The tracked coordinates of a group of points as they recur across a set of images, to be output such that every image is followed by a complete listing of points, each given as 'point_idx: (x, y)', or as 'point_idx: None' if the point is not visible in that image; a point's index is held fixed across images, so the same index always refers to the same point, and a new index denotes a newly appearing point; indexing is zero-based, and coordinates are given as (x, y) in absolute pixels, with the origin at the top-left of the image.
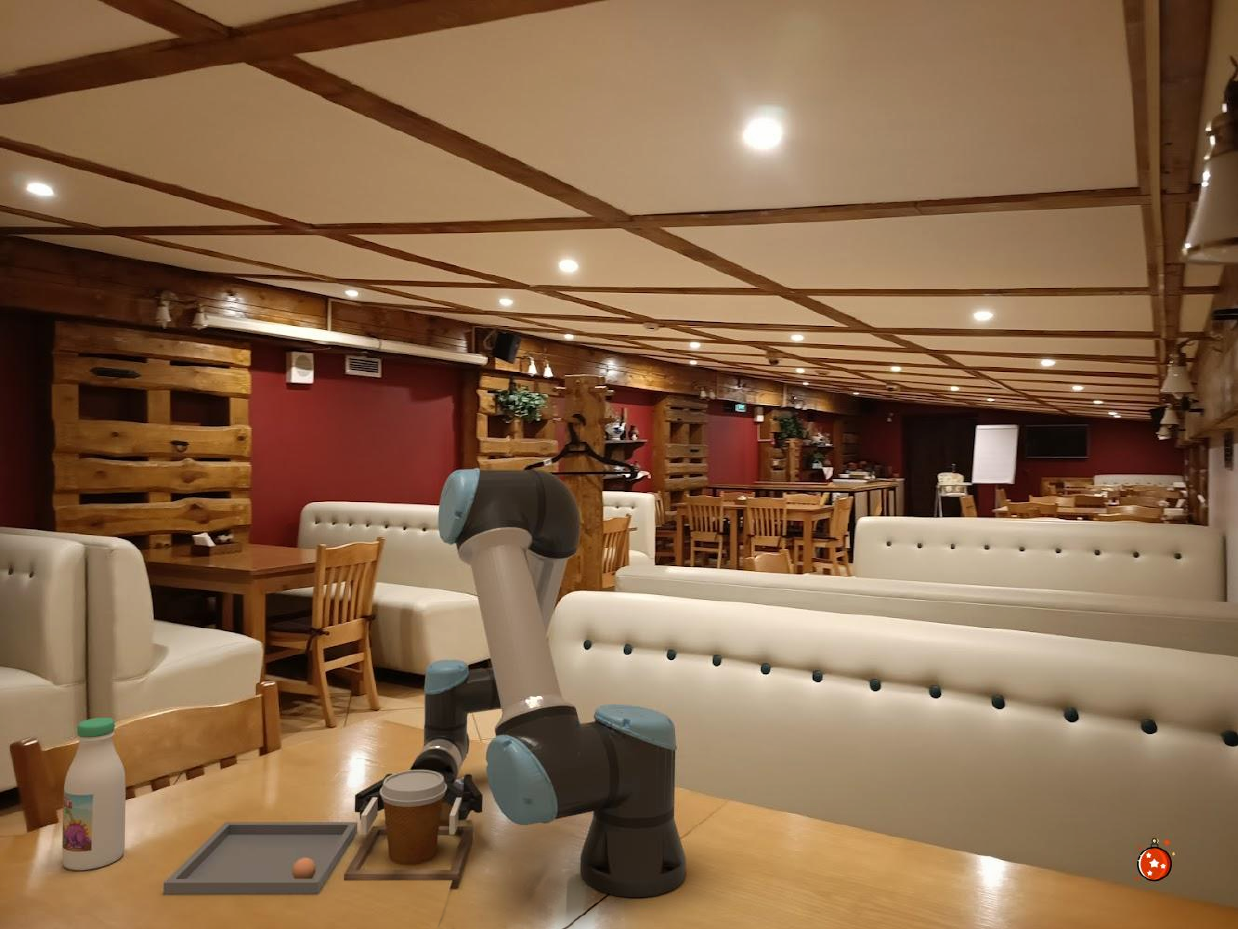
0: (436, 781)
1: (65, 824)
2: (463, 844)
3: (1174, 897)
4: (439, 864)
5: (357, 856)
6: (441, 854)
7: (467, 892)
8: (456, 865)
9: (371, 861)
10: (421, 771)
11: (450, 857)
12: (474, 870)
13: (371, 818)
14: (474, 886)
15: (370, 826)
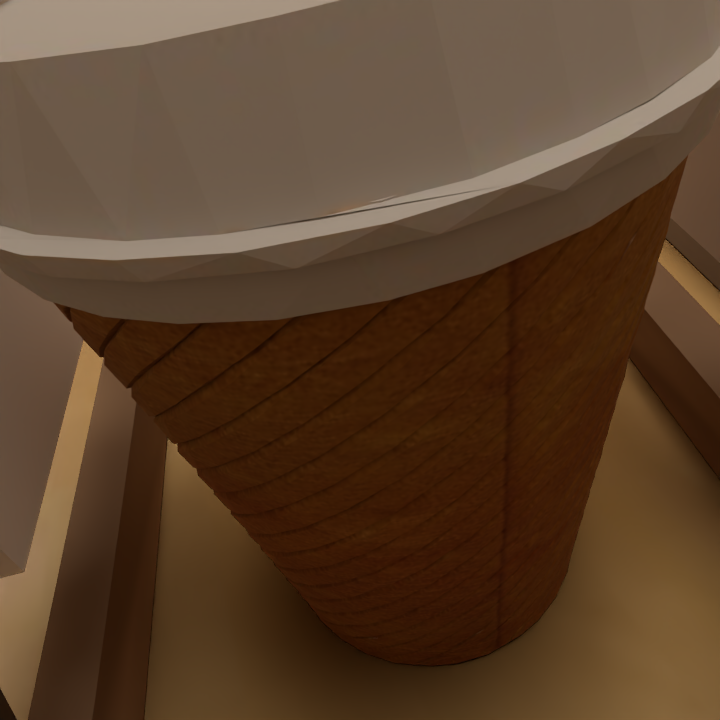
0: (13, 25)
1: None
2: (73, 620)
3: None
4: (258, 552)
5: (689, 315)
6: (277, 686)
7: (95, 379)
8: (115, 390)
9: (691, 477)
10: (295, 20)
11: (206, 656)
12: (56, 541)
13: (701, 184)
14: (65, 419)
15: (678, 218)
